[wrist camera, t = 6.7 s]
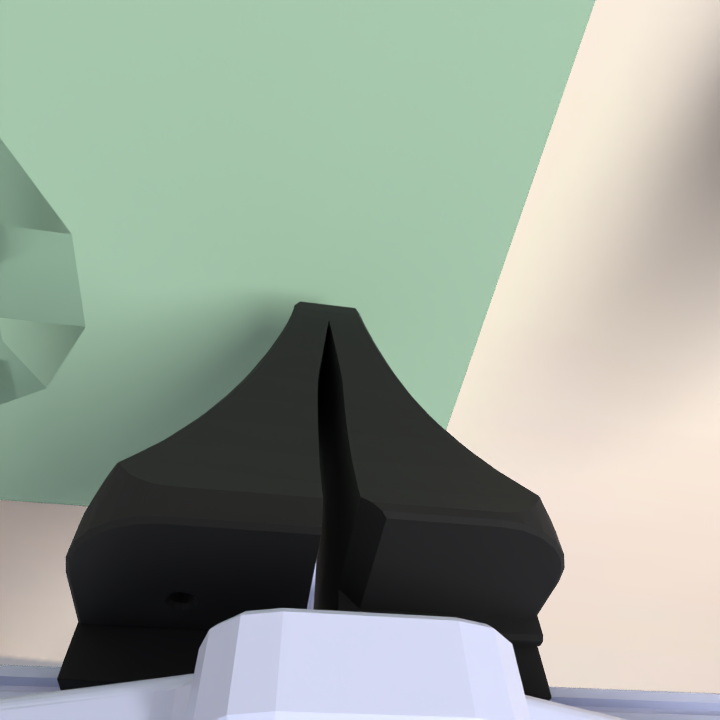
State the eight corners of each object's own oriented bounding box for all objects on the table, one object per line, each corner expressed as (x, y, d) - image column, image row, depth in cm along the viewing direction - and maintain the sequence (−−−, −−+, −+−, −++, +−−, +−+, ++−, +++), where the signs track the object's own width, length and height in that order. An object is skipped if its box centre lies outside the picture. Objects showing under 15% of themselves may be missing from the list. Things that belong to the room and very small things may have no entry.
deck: (405, 483, 20) (411, 529, 19) (-214, 431, 18) (-269, 480, 16) (622, -211, 10) (677, -239, 8) (-818, -571, 7) (-1139, -711, 6)
